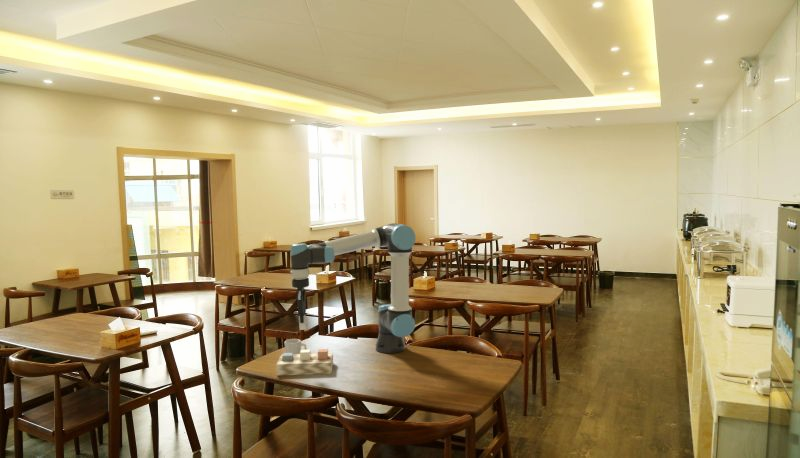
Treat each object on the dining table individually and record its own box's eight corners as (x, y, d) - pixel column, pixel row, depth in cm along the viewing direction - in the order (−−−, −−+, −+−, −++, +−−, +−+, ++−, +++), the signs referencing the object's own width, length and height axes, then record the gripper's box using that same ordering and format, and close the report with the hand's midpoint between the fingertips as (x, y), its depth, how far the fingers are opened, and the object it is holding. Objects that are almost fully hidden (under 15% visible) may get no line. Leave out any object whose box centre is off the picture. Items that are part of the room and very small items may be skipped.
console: (333, 363, 246) (332, 353, 245) (331, 373, 232) (330, 362, 231) (281, 365, 244) (281, 354, 244) (276, 375, 230) (276, 364, 230)
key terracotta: (328, 359, 240) (327, 348, 240) (327, 362, 236) (327, 351, 236) (318, 359, 240) (318, 349, 240) (318, 362, 236) (317, 351, 236)
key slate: (293, 362, 240) (292, 352, 239) (291, 365, 235) (291, 355, 235) (283, 363, 239) (283, 353, 239) (282, 366, 235) (282, 355, 235)
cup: (308, 354, 260) (308, 338, 259) (304, 359, 252) (303, 343, 251) (287, 354, 261) (287, 338, 260) (282, 359, 253) (282, 343, 253)
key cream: (310, 359, 240) (310, 349, 240) (309, 362, 236) (309, 352, 235) (301, 360, 240) (301, 349, 239) (300, 362, 236) (300, 352, 235)
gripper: (294, 276, 242) (296, 326, 243) (289, 280, 229) (292, 333, 230) (310, 275, 242) (312, 325, 244) (306, 280, 229) (309, 332, 231)
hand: (302, 329), depth 237 cm, fingers closed
